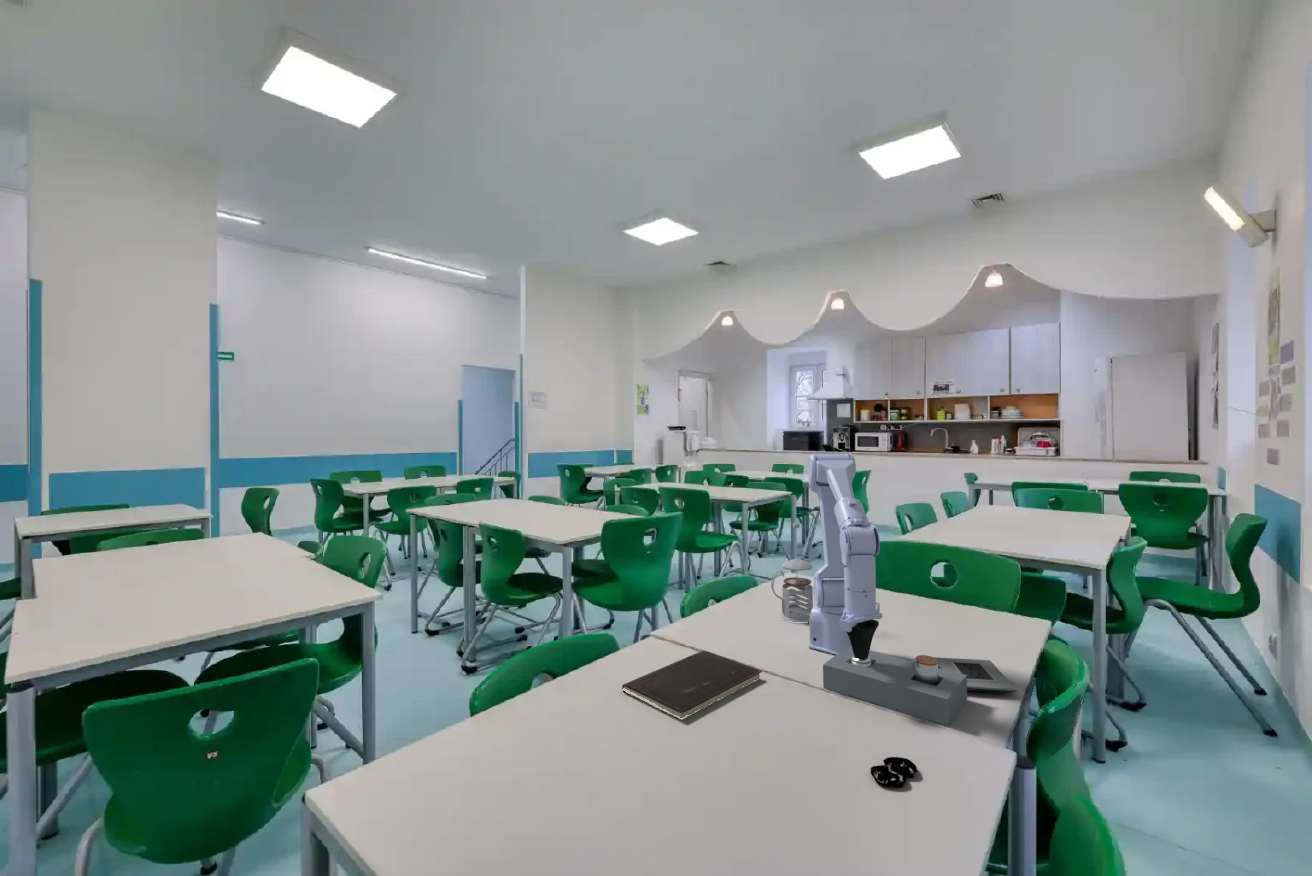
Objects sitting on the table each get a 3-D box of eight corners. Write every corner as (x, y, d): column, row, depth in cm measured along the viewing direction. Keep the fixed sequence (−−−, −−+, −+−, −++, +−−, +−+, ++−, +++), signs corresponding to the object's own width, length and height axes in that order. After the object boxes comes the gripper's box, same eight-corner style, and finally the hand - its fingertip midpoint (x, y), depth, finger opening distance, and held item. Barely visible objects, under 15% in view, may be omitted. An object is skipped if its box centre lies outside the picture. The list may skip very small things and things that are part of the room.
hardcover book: (761, 682, 113) (761, 670, 113) (682, 725, 97) (681, 712, 97) (702, 659, 125) (701, 649, 125) (622, 695, 109) (621, 683, 109)
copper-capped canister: (913, 685, 102) (912, 659, 101) (919, 679, 104) (919, 653, 104) (934, 691, 99) (934, 665, 99) (940, 684, 102) (940, 658, 102)
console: (823, 687, 109) (822, 664, 109) (849, 667, 118) (849, 646, 118) (947, 726, 94) (947, 699, 94) (967, 699, 103) (966, 675, 103)
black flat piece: (925, 773, 82) (924, 766, 82) (896, 797, 77) (895, 789, 77) (892, 758, 86) (892, 751, 86) (862, 780, 81) (862, 772, 81)
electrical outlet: (1017, 700, 103) (1016, 687, 103) (954, 696, 105) (953, 683, 105) (990, 670, 116) (989, 658, 116) (934, 667, 118) (934, 655, 118)
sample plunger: (848, 682, 110) (848, 658, 110) (856, 676, 112) (855, 652, 112) (867, 687, 107) (866, 663, 107) (874, 681, 110) (874, 657, 110)
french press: (821, 623, 144) (820, 525, 144) (776, 624, 144) (774, 526, 144) (811, 611, 154) (810, 519, 154) (769, 611, 154) (767, 520, 154)
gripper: (865, 601, 101) (866, 676, 102) (894, 583, 112) (895, 651, 112) (828, 594, 106) (829, 666, 106) (859, 577, 117) (860, 643, 117)
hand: (861, 658), depth 110 cm, fingers closed, pressing on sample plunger
